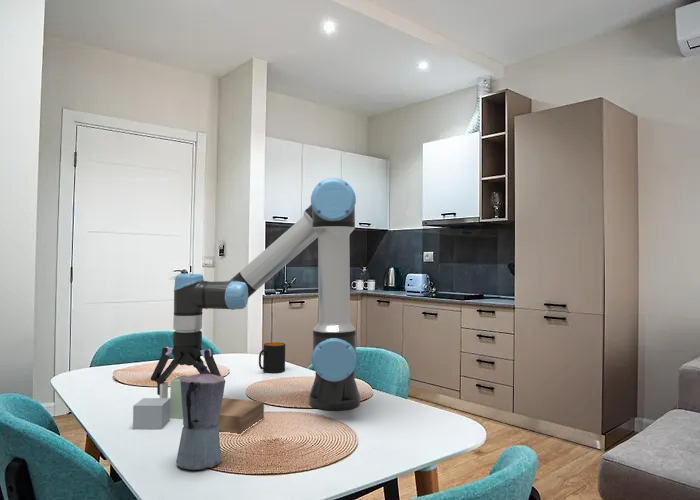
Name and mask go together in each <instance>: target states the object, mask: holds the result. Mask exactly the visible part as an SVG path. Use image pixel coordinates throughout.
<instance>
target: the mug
mask: <svg viewBox="0 0 700 500" xmlns="http://www.w3.org/2000/svg"><path fill="white" fill-rule="evenodd" d="M258 354H259V355H258V367H259V369H261V370H262V371H263V373H265V374H283V373H285V371H286V343H283V342H266V343H263V349H262V350H261V351H260V352H259V353H258ZM262 354H263V361H262Z"/></svg>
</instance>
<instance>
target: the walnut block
mask: <svg viewBox="0 0 700 500" xmlns="http://www.w3.org/2000/svg"><path fill="white" fill-rule="evenodd" d="M264 415H265V401H262V400H261V401H260V400H252V399H251V400H250V399H249V400H247V399H239V398H237V399H236V398H228V397H223V399H222V406H221V412H220V415H219V420H218V424H217V425H218V427H219V432H230V433H237V434H241V433H242V432H243V431H245V430H246V429H248V428H249V427H251V426H252V425H253V424H255V423H256V422H258V421H259V420H261V419H263V418H264V419H265V416H264ZM264 419H263V420H264Z"/></svg>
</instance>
